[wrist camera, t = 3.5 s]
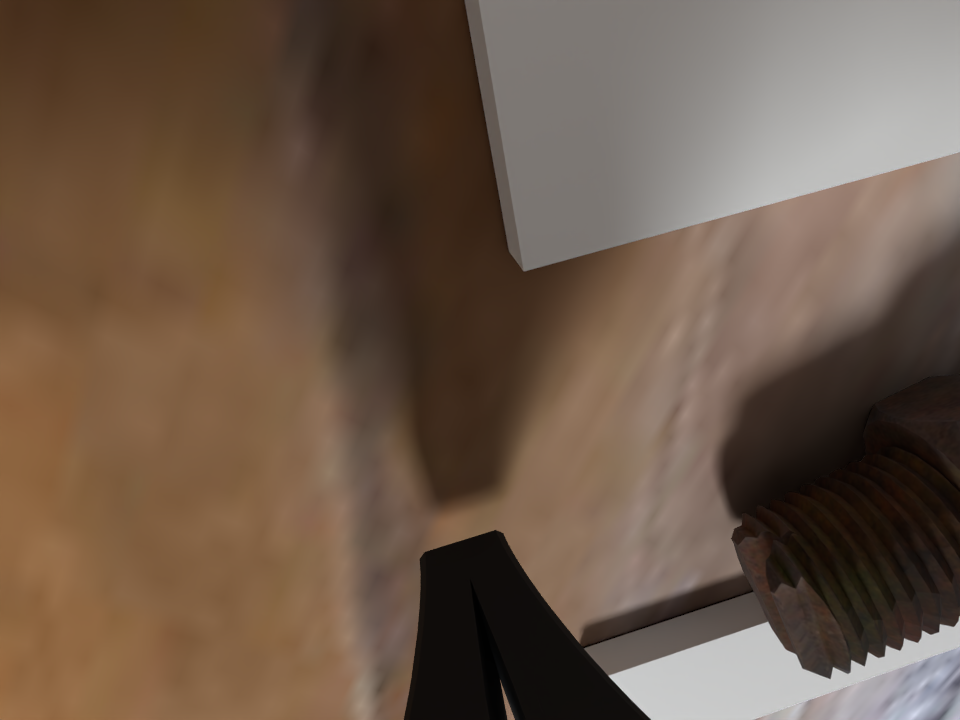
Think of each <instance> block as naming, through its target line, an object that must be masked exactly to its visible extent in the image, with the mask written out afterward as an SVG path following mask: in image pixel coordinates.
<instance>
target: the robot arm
mask: <svg viewBox="0 0 960 720" xmlns="http://www.w3.org/2000/svg"><path fill="white" fill-rule="evenodd" d="M420 570H421V592H420V610H419V622H418V633H417V641H416V648H415V656H414V663H413V671H412V678H411V684H410V690H409V696H408V701H407V706H406V711H405V716H404V720H507V715H506V710H505V704H504V699H503V693H502V688H501V683H502V686H503V688H504V691H505V694H506V696H507V699H508V702H509V705H510V707H511V710H512V713H513V715H514V718H515V720H651V719H650V718H649V717H648V716H647V715H646V714H645V713H644V712H643V711H642V710H641V709H640V708H639V707H638V706H637V705H636V704H635V703H634V702H633V701H632V700H631V699H630V698H629V697H628V696H627V695H626V694H625V693H624V692H623V691H622V690H621V689H620V688H619V687H618V686H617V685H616V683H615V682H614V681H613V680H612V679H611V678H610V677H609V676H608V675H607V674H606V673H605V672H604V670H603V669H602V668H601V667H600V666H599V665H598V664H597V663H596V662H595V661H594V659H593V658H592V657H591V656H590V655H589V654H588V653H587V652H586V650H585V649H584V648H583V647H582V646H581V645H580V643H579V642H578V641H577V640H576V639H575V638H574V636H573V635H572V634H571V633H570V631H569V630H568V629H567V628H566V626H565V625H564V624H563V623H562V621H561V620H560V619H559V618H558V616H557V615H556V614H555V613H554V611H553V610H552V609H551V608H550V606H549V605H548V604H547V602H546V601H545V600H544V598H543V597H542V596H541V594H540V593H539V592H538V590H537V589H536V587H535V586H534V585H533V583H532V582H531V580H530V579H529V577H528V576H527V574H526V573H525V571H524V570H523V568H522V567H521V565H520V564H519V562H518V560H517V559H516V557H515V555H514V554H513V552H512V550H511V548H510V546H509V545H508V543H507V541H506V539H505V536H504V534H503V533H501V532H499V531H497V530H494V531H491V532H488V533H485V534H481V535H478V536H475V537H472V538H469V539H465V540H462V541H459V542H456V543H452V544H449V545H446V546H443V547H440V548H436V549H433V550H430V551H427V552H425V553H424V554H423V555H422V557H421V558H420ZM500 680H501V683H500Z"/></svg>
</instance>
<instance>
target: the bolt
mask: <svg viewBox="0 0 960 720" xmlns="http://www.w3.org/2000/svg"><path fill="white" fill-rule="evenodd" d="M863 435H864V442H865V449H866V455H865V456H864V458H863V459H862V460H861V462H859V461H858V462H850V463H849V464H848V466H847V467H846V468H845V470H842V469H837V470H836V471H834V472H832V473H830V476H829V477H819V478H818V479H817V480H815V484H814V485H809V484H804V485H803V486H802V487H800V494H798V493H794V492H788V493H787V494H785V501H784V502H782V501H778V500H772V499H771V502H770V510H768V509H766V508H764V507H762V506H757V514H756V518H754V517H752V516H749V515H747V514H745V513H743V515H742V525H741V526H739V527H737V528H735V529H734V532H733V535H732V538H731V539H732V541H733V543H734V546H735V550H736V553H737V556H738V559H739V561H740V564H741V566H742V569H743V571H744V573H745V575H746V577H747V579H748V581H749V583H750V585H751V587H752V589H753V591H754V593H755V595H756V597H757V599H758V601H759V603H760V605H761V607H762V609H763V612H764V614H765V616H766V618H767V620H768V622H769V624H770V626H771V628H772V630H773V632H774V633H775V634H776V636H777V637H778V639H779V640H780V642H781V643H782V645H783V646H784V648H785V649H786V650H788V651H790V652H792V653H794V654H796V655H797V657H798V660H799V662H800V664H801V667H802V669H805V670H807V671H810V672H812V673H815V674H818V675H820V676H823V677H826V678H828V679H831V675H832V670H833V667H834V668H836V669H838V670H840V671H842V672H844V673H846V674H849V673H851V660H852V661H854V662H856V663H858V664H860V665H862V666H864V667H865V664H866V660H867V655H868V653H870V654H872V655H874V656H876V657H877V658H881V657H885V650H886V645H887V646H888V647H890V648H893V649H896V650H899V651H900V650H901V649H902V647H903V643H904V638H905V639H907V640H909V641H913V642H916V643H918V642H919V641H920V639H921V637H922V631H924V632H926V633H928V634H930V635H932V634H935V633H939V629H940V624H941V625H946V626H951V627H954V626H955V625H956V624H957V622H958V621H959V616H960V375H948V376H936V377H928V378H926V379H924V380H922V381H920V382H918V383H916V384H914V385H912V386H910V387H908V388H906V389H904V390H902V391H900V392H898V393H896V394H894V395H892V396H890V397H888V398H886V399H884V400H882V401H880V402H877V403H875V404H874V406H873V408H872V410H871V412H870V415H869V418H868V421H867V424H866V427H865V430H864V433H863Z"/></svg>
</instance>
